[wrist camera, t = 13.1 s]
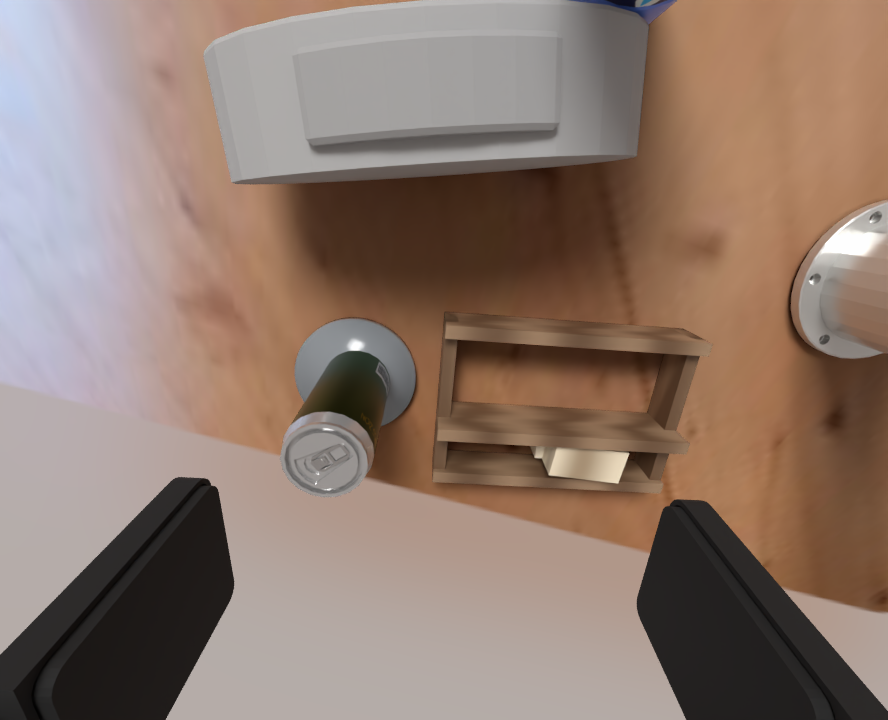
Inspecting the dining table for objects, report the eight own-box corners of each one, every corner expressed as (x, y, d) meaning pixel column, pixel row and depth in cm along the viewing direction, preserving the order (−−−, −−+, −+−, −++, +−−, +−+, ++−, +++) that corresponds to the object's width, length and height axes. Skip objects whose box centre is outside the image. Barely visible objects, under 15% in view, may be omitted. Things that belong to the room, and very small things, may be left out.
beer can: (367, 335, 34) (336, 403, 22) (403, 388, 35) (390, 475, 24) (312, 366, 34) (255, 447, 23) (350, 416, 36) (313, 514, 25)
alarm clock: (598, 66, 28) (720, -33, 16) (593, 166, 30) (696, 144, 19) (256, 88, 28) (126, 5, 16) (274, 187, 30) (173, 178, 18)
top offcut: (617, 437, 36) (629, 453, 34) (607, 466, 37) (618, 483, 35) (550, 428, 36) (558, 444, 34) (541, 458, 37) (548, 475, 35)
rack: (683, 328, 35) (721, 348, 30) (641, 469, 40) (669, 504, 35) (444, 311, 34) (446, 329, 29) (432, 458, 39) (432, 493, 34)
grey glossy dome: (419, 321, 34) (418, 324, 33) (412, 428, 38) (412, 433, 37) (294, 313, 34) (291, 315, 33) (300, 422, 37) (297, 427, 36)
